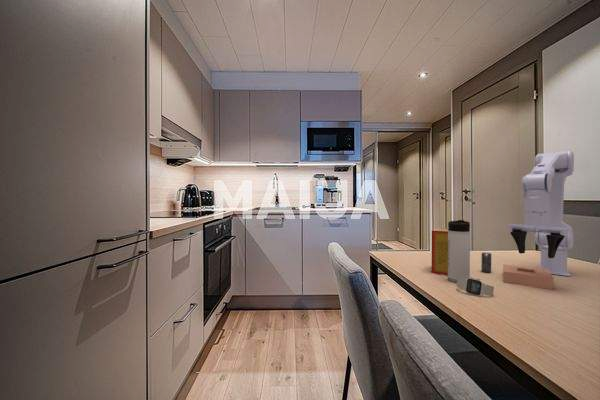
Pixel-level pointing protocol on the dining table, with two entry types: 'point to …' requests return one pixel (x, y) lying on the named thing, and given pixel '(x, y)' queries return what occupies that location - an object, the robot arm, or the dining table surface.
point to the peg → (486, 263)
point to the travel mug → (458, 250)
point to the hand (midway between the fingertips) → (536, 255)
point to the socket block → (527, 276)
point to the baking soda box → (440, 251)
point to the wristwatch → (475, 287)
